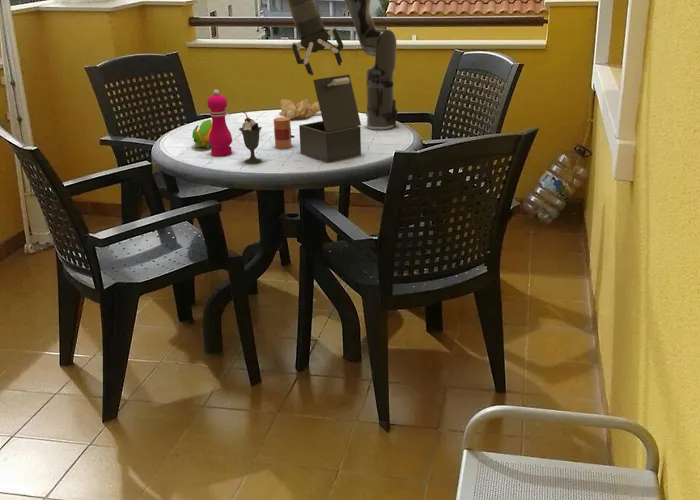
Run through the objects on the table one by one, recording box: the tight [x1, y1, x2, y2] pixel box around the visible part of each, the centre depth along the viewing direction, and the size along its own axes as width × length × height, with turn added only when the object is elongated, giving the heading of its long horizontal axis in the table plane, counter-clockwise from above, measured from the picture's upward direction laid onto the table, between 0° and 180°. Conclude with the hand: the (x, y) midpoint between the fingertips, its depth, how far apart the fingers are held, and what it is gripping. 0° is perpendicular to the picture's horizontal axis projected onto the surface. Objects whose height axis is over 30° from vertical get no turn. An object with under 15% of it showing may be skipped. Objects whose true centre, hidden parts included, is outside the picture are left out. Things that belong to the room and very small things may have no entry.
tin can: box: [273, 116, 293, 150], centre depth 258 cm, size 5×5×9 cm
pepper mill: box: [206, 89, 233, 157], centre depth 250 cm, size 7×7×20 cm
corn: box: [191, 119, 212, 148], centre depth 265 cm, size 7×8×20 cm
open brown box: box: [298, 120, 362, 163], centre depth 249 cm, size 15×13×9 cm
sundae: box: [238, 111, 263, 164], centre depth 242 cm, size 7×7×15 cm
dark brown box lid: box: [313, 74, 362, 132], centre depth 239 cm, size 16×13×6 cm
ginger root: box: [278, 98, 321, 120], centre depth 299 cm, size 16×16×8 cm
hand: (326, 69), depth 238 cm, fingers open, 8 cm apart
